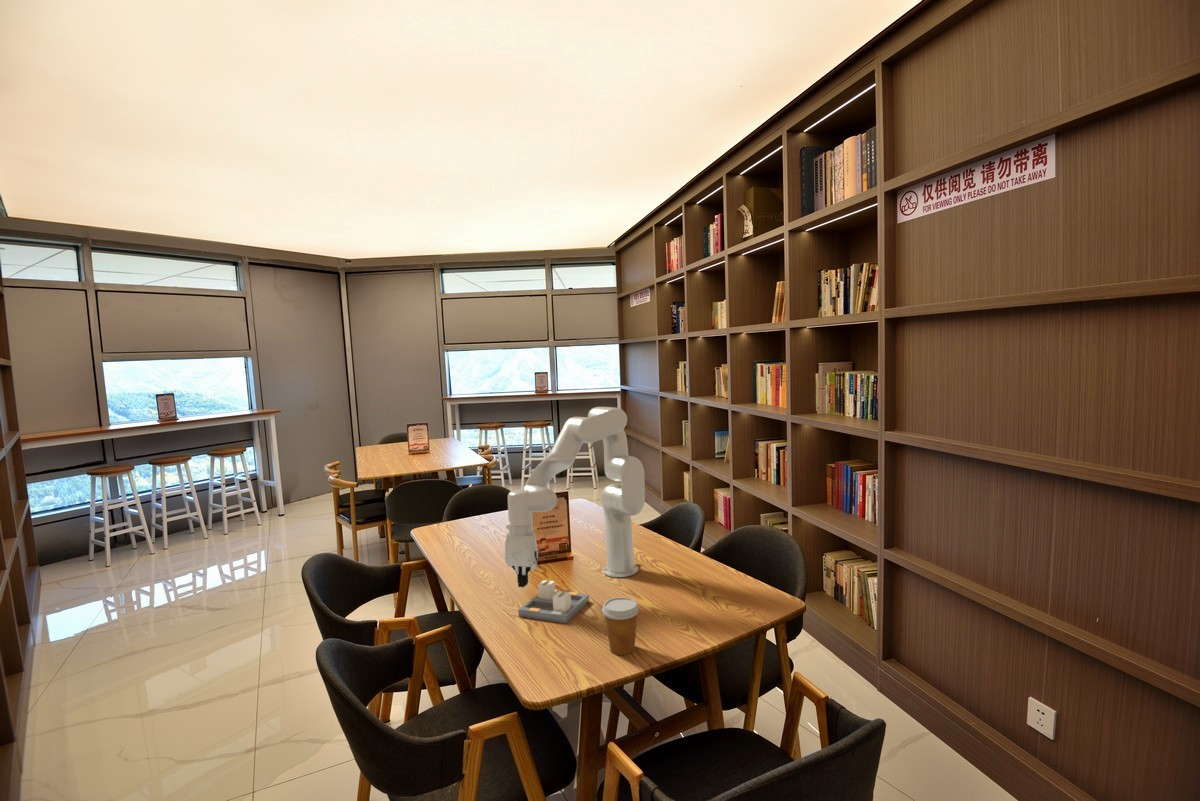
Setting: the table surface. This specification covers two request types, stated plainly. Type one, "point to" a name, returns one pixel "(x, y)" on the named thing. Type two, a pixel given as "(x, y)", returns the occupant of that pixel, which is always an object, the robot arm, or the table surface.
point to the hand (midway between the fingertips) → (523, 585)
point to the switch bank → (545, 608)
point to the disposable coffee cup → (621, 624)
